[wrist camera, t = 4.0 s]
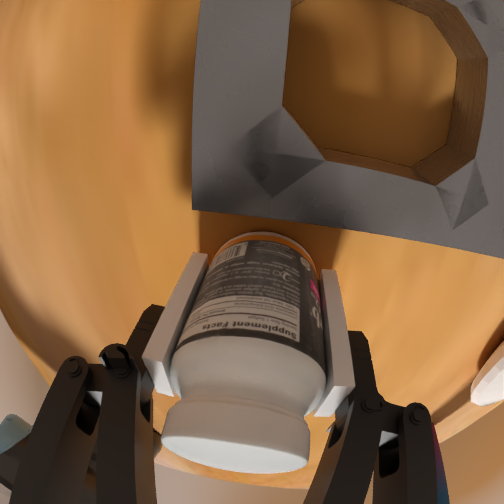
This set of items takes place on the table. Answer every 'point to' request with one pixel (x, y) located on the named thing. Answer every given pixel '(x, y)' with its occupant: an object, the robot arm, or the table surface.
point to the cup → (440, 473)
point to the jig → (342, 163)
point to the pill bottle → (250, 360)
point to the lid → (490, 380)
